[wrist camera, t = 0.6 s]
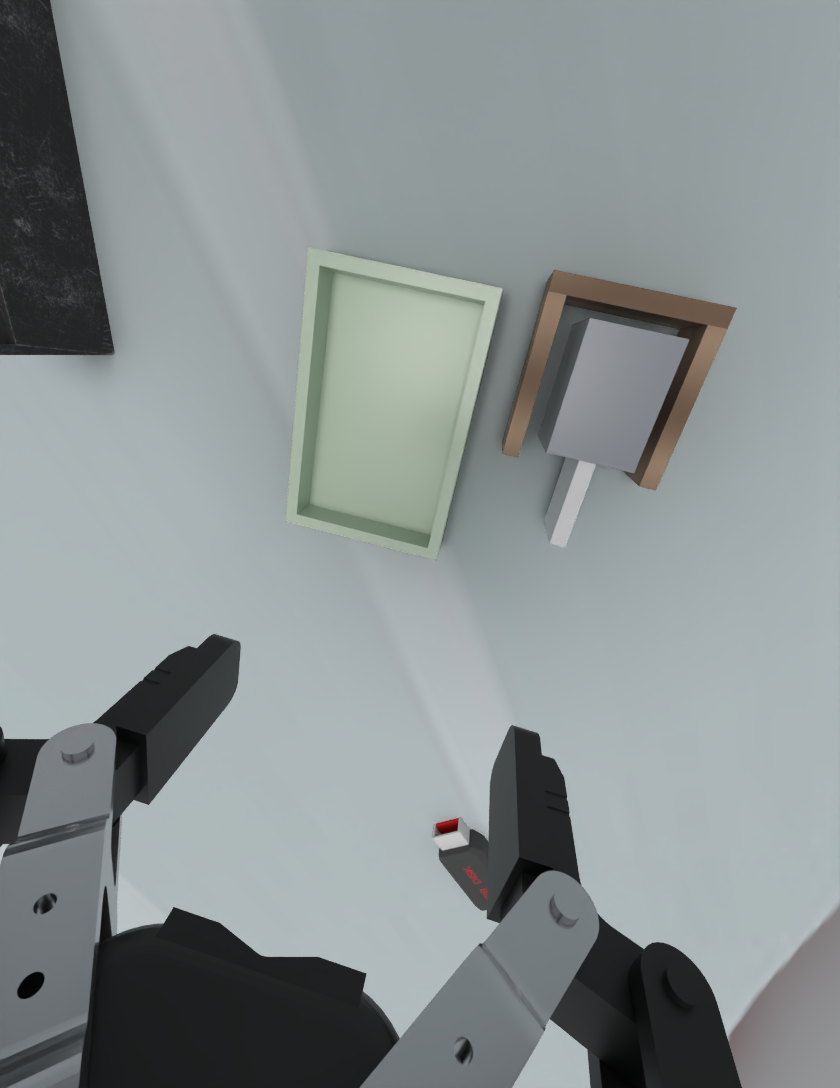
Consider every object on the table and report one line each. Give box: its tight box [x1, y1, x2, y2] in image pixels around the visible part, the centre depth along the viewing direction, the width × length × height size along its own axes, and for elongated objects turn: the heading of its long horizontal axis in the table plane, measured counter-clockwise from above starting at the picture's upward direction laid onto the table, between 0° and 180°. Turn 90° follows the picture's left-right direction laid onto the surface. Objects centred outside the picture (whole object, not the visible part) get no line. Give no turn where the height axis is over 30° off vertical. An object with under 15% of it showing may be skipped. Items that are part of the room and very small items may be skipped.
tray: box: [285, 247, 503, 560], centre depth 31 cm, size 18×12×3 cm, turn 168°
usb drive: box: [432, 817, 489, 911], centre depth 48 cm, size 5×12×3 cm, turn 31°
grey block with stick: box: [538, 318, 689, 547], centre depth 28 cm, size 12×5×6 cm, turn 168°
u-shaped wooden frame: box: [502, 270, 736, 490], centre depth 27 cm, size 10×10×4 cm
